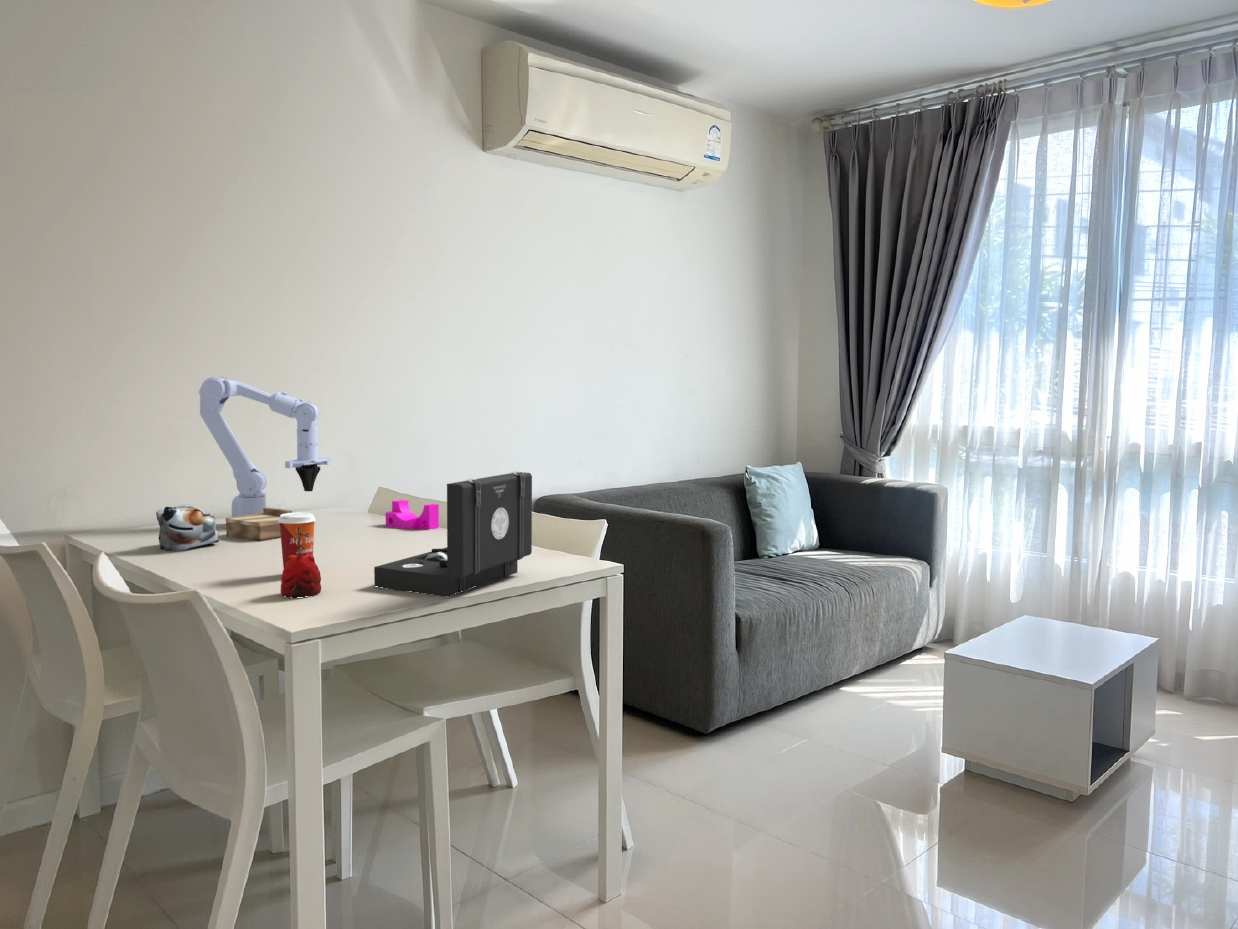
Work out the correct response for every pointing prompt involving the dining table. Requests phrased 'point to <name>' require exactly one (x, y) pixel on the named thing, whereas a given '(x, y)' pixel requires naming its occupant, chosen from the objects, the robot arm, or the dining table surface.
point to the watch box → (471, 538)
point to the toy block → (412, 516)
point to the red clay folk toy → (300, 574)
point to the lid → (260, 518)
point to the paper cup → (289, 534)
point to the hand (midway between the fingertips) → (308, 491)
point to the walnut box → (253, 531)
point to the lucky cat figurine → (185, 528)
